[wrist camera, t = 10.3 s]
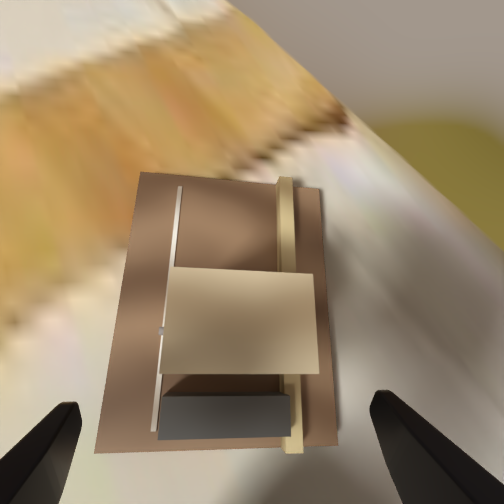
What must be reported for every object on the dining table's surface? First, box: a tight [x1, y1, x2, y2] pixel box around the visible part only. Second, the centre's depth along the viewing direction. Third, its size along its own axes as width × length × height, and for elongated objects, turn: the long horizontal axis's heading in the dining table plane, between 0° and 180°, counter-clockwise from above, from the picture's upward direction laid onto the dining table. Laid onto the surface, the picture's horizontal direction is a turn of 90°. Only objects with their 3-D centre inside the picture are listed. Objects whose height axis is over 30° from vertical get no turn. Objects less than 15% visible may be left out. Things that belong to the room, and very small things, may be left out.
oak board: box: [94, 172, 338, 454], centre depth 19 cm, size 18×14×3 cm
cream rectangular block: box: [159, 267, 319, 374], centre depth 15 cm, size 4×7×8 cm, turn 89°
